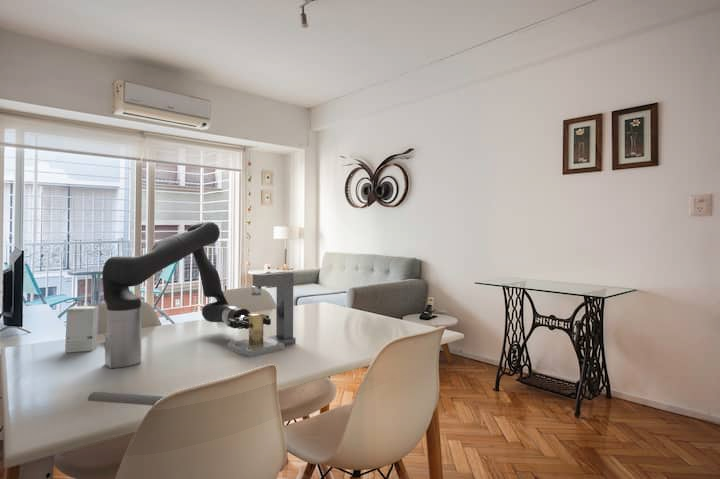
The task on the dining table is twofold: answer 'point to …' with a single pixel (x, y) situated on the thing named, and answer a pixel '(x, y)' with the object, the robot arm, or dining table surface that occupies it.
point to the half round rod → (124, 398)
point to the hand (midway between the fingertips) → (259, 323)
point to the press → (282, 315)
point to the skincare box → (81, 328)
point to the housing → (255, 328)
